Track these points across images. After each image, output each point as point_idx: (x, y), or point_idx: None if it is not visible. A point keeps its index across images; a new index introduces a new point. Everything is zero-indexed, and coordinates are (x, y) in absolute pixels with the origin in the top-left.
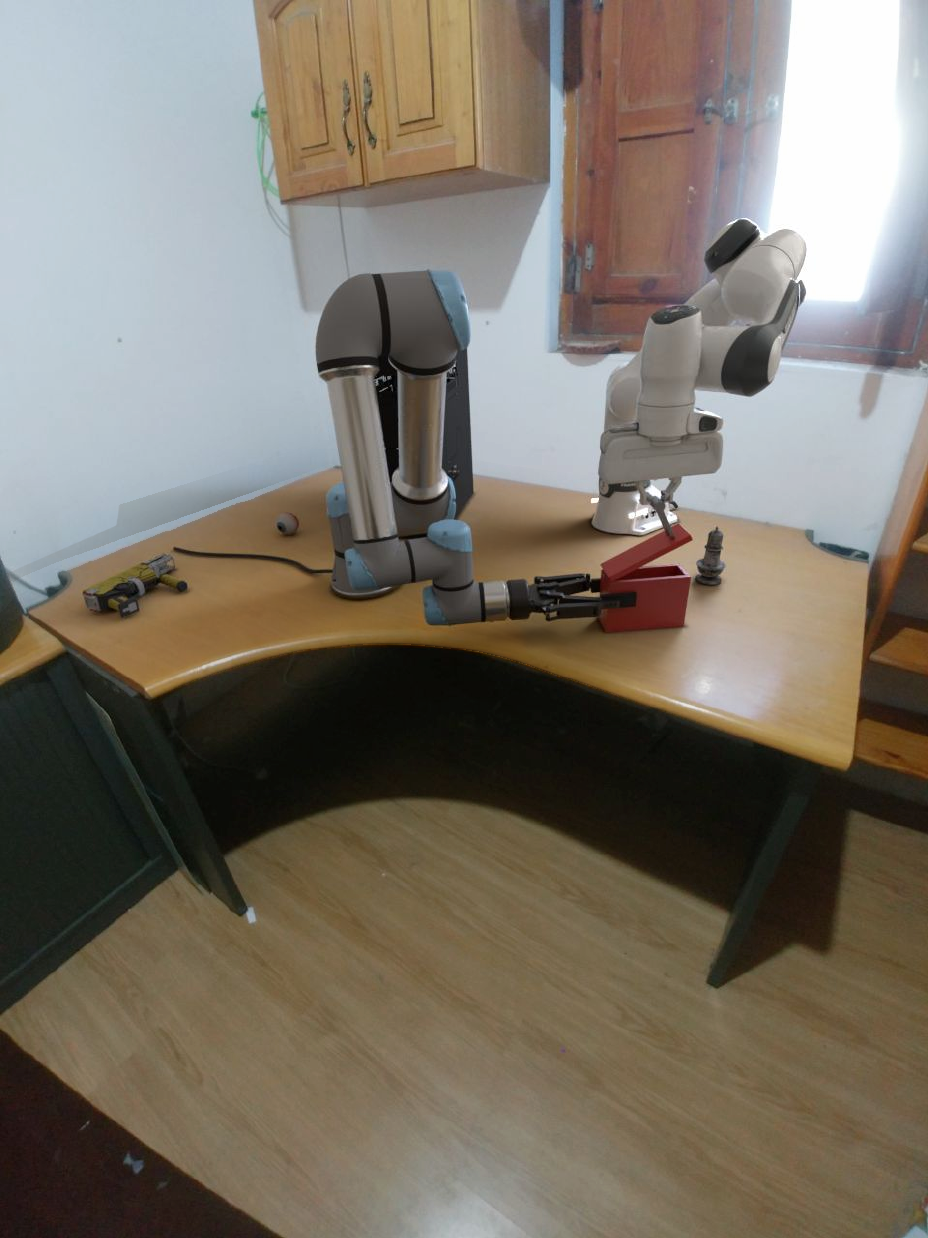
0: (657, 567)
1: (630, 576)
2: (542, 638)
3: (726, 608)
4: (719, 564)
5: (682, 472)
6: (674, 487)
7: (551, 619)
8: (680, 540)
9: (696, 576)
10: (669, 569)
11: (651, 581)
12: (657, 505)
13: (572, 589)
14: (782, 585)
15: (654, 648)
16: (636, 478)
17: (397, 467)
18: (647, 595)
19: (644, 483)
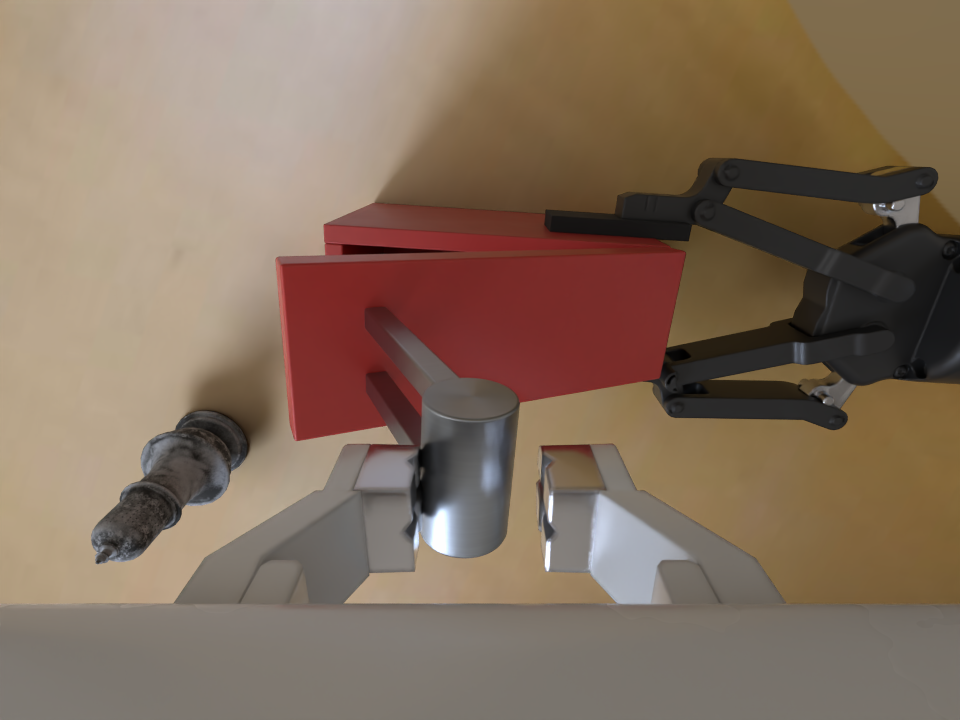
0: None
1: None
2: (810, 225)
3: (211, 277)
4: (160, 452)
5: (119, 650)
6: (303, 522)
7: (885, 167)
8: (350, 261)
9: (241, 459)
10: None
11: (493, 233)
12: (498, 404)
13: (727, 343)
14: (8, 369)
15: (510, 90)
16: (954, 631)
17: None
18: (501, 226)
19: (704, 587)
